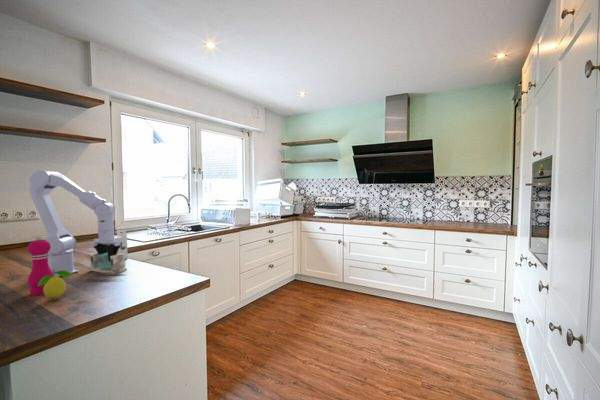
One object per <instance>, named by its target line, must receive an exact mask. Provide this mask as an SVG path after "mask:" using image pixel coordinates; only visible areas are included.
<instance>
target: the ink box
mask: <svg viewBox="0 0 600 400" xmlns="http://www.w3.org/2000/svg"><path fill="white" fill-rule="evenodd" d="M114 238H115V239H117V240H118V241H120V248H119V249H118V251H117V254H121V253H122V254H125V259H126V260H128V259H129V254H128V253H129V252H128V236H127V230H126V229H116V234H115V235H114ZM117 254H116V255H117Z"/></svg>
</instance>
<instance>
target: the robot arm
mask: <svg viewBox="0 0 600 400" xmlns="http://www.w3.org/2000/svg"><path fill="white" fill-rule="evenodd" d="M28 180H29V182H30V188H29V189H30V191H29V194H30V196H31V200H32V201H33V203H34V206H35V208H36V210H37V213H38V214H39V217H40V219H41V221H42V224H43V226H44V228H45V229H46V230H45V231H46V233H47V234H46V236H45V239H44V240H46V241H48V242H49V243H50V245H51V248H50V250H49V251H48V253H49V257H48V265H49V267H50V269H51V270H52V271H53V269H54V271H55V272H54V275H55V276H56V277H61V276H60V275H58V274H57V273H56V272H58V271H62V270H65V271H68V272H69V273H71V274H73V273H74V274H75V273H77V272H79V271H80V270H78V269H75V264H74V262H75V261H74V248H75V246H76V244H77V241H76V238H75V237H74V236H72V235H71V233H70V231H68V230H67V229H65V228H64V226H63V223H62V221H61V218H60V216H59V214H58V213H57V210H56V208H55V205H54V203H53V201H52V198H51V196H50V194H51V192H52V191H53V190H54V189H55V188H56V187H61V188H63V190H66V191H67V192H69V193H70V194H73V195H74V196H76V197H77V198H79V202H80V203H82V204H83V205H85V206H86V207H88V208H90V209H91V210H92V211H93V213H94V214H95V215H96V216H97V231H98V232H97V233H98V238H94V239H93V244H94V245H93V248H94V250H96V252H98V255H100V254H104V253H107V254H108V259H109V262H110V256H113V255H116V254H117V251H118V249H119V248H120V241H118V240H117V239H115V238H114V236H115V226H114V225H115V224H114V214H115V212H116V207H115V204H113V203H112V201H111V202H110V201H106V199H105V198H101V197H100V196H99V195H97V193H96V192H95V191H91V190H89V191H86V190H84V189H83V188H81V187H80V186H79V185H77V184H76V183H75V182H74V181H72V180H71V179H69V178H68V177H67V176H66V175H64V174H62V173H60V172H59V171H57V170H44V169H37V170H35V171H33V172H32V173H31V175H30V176H29V177H28Z"/></svg>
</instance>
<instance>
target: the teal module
mask: <svg viewBox="0 0 600 400" xmlns="http://www.w3.org/2000/svg"><path fill="white" fill-rule="evenodd" d="M97 256H98V268H99V269H104V270H105V269H108V268H111V262H109V259H108V254H107V253H104V254H100V255H97Z"/></svg>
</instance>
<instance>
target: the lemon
mask: <svg viewBox="0 0 600 400" xmlns="http://www.w3.org/2000/svg"><path fill="white" fill-rule="evenodd" d="M54 272H55V271H54V269H53V274H52V275H53V276H52V275H48V276H45V277H43V278H42V279H41V280H40V281H39V283H38V286H40V285H42V284H44V283H45V284H44V288H43V291H44V294H43V295H44V296H45V297H46V298H49V299H53V300H57V299H58V298H59V297H60V296H62V295H63V294H64V293H65V292H66V289H67V287H66V282H65V281H64V279H63V277H64V278H68V277H69V278H70V277H73V275H72V273H69V272H68V271H65V270H62V271H58V272H56V273H57V274H58V275H60V276H59V277H56V276H54ZM51 276H52V277H51ZM50 277H51V278H50Z"/></svg>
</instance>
